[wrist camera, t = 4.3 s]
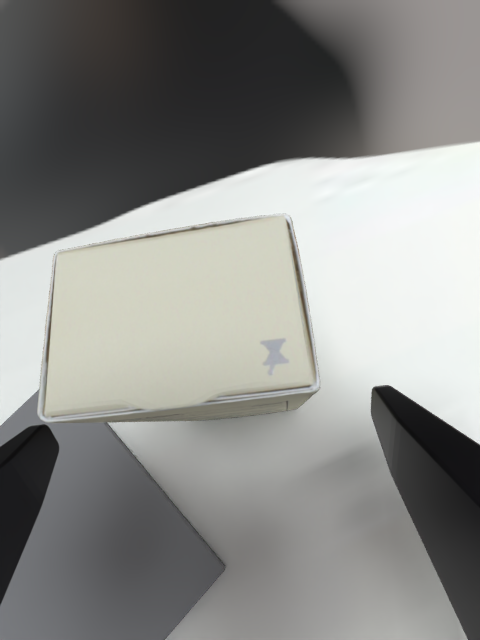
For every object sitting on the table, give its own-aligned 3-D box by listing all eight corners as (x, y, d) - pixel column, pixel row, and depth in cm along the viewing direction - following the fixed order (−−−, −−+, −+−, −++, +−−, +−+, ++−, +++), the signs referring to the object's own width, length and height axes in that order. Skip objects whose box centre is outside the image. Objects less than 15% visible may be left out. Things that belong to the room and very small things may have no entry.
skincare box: (288, 334, 19) (305, 202, 8) (299, 410, 18) (341, 391, 6) (180, 347, 20) (44, 242, 8) (184, 423, 18) (27, 426, 7)
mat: (225, 566, 16) (224, 570, 16) (69, 748, 15) (64, 756, 14) (63, 370, 20) (59, 369, 20) (-73, 500, 19) (-80, 501, 18)
